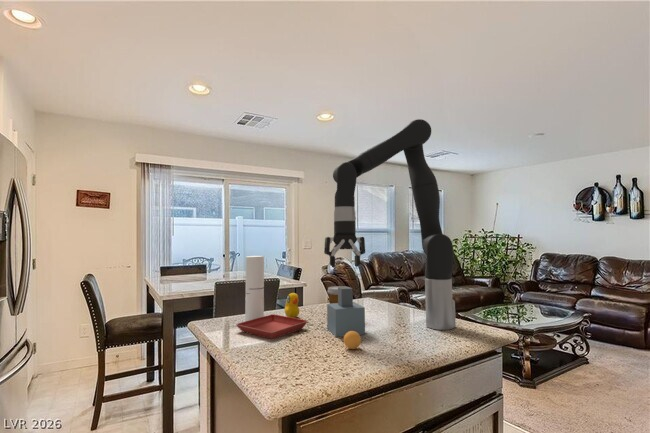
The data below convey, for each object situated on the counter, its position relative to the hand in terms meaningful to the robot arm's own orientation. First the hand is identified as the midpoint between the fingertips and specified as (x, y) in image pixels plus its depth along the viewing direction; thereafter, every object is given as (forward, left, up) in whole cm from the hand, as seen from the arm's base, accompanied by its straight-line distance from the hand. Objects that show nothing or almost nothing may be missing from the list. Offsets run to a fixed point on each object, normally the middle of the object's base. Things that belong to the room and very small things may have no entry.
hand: (345, 266), depth 121 cm
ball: (+4, +18, -20) cm, 27 cm away
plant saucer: (+24, -9, -23) cm, 34 cm away
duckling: (+14, -26, -22) cm, 37 cm away
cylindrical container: (+29, -26, -22) cm, 45 cm away
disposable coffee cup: (-4, -20, -22) cm, 30 cm away
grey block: (0, 0, -22) cm, 22 cm away
